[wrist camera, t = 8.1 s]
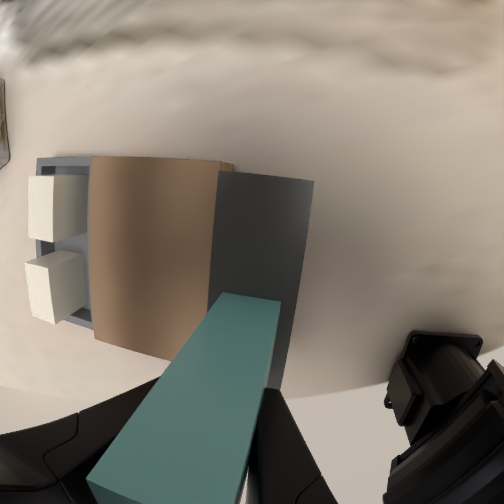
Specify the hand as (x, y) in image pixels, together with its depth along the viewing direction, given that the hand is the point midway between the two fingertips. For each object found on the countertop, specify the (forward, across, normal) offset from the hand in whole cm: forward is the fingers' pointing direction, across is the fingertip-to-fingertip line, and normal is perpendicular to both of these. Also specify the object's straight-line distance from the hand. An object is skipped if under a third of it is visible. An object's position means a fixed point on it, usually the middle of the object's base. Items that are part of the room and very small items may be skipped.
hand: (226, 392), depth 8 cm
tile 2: (+9, +14, +3) cm, 17 cm away
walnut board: (+12, +7, 0) cm, 14 cm away
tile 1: (+9, +13, -3) cm, 16 cm away
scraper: (+5, 0, 0) cm, 5 cm away
